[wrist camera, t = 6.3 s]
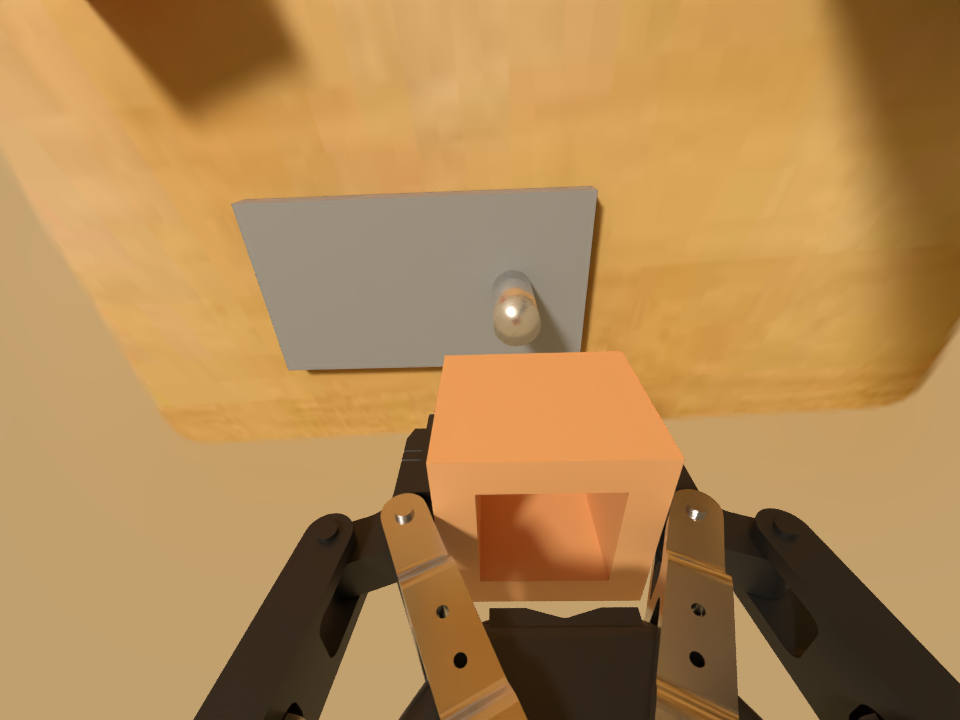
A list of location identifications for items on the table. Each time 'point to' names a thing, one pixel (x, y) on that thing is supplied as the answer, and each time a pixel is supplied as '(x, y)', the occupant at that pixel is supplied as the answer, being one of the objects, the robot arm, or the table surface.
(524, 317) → the steel post
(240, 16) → the table surface
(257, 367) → the table surface
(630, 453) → the collar
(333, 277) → the base plate
